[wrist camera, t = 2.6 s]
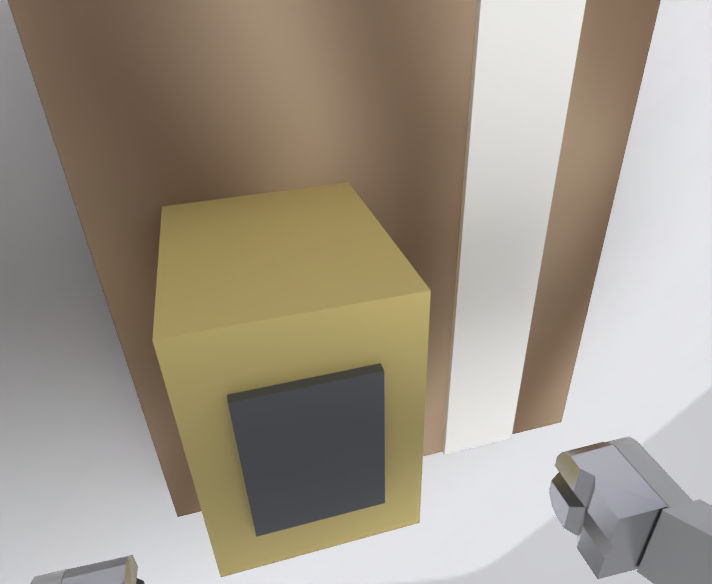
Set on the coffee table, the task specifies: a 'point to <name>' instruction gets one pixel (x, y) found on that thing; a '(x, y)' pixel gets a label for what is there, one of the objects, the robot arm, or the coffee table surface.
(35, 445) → the coffee table surface
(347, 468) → the block
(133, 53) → the board
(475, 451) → the coffee table surface
